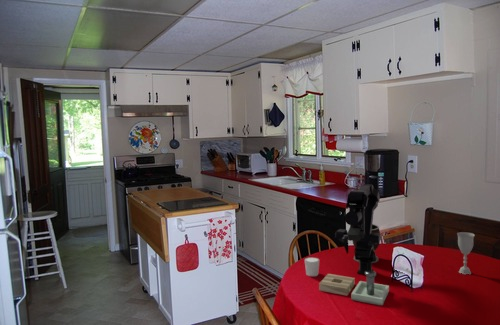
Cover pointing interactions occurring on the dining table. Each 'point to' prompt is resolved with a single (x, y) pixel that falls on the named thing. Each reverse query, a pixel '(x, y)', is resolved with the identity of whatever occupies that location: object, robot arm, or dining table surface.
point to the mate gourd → (375, 246)
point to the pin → (370, 281)
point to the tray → (377, 298)
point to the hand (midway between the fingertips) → (357, 254)
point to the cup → (312, 266)
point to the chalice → (465, 248)
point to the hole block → (337, 284)
